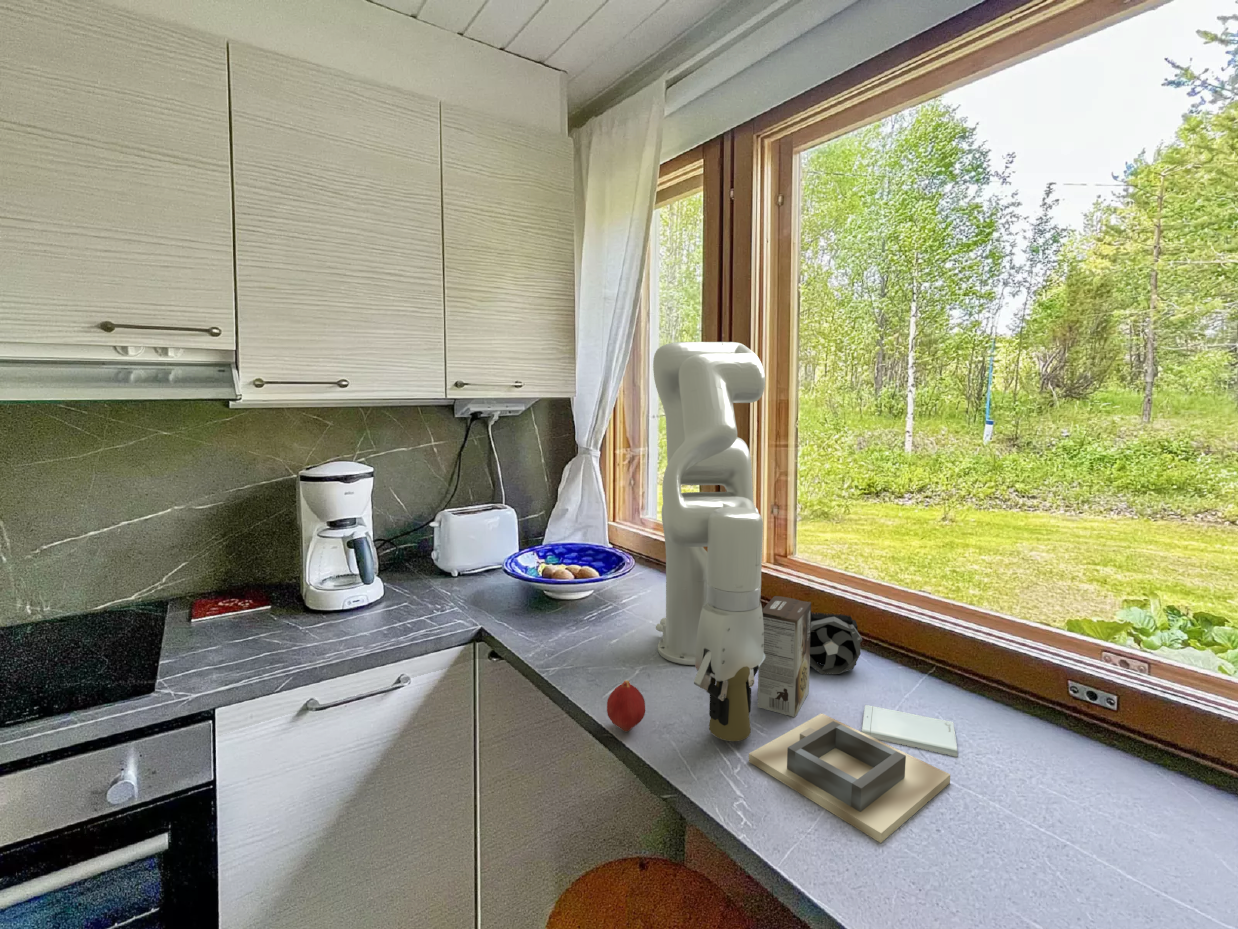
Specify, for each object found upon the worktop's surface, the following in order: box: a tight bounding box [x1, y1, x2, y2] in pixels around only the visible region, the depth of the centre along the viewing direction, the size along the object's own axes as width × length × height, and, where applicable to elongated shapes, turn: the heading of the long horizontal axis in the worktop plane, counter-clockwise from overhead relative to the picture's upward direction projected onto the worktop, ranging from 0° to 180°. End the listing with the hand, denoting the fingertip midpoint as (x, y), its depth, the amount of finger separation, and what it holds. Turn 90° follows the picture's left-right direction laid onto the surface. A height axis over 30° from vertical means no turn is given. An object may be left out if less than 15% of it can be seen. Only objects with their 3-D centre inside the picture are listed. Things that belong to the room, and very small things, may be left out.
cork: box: [708, 666, 752, 742], centre depth 87 cm, size 6×6×11 cm
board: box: [748, 713, 951, 844], centre depth 79 cm, size 19×17×4 cm
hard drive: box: [861, 704, 959, 757], centre depth 89 cm, size 2×8×12 cm
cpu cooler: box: [809, 611, 863, 675], centre depth 109 cm, size 10×6×10 cm, turn 76°
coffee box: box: [757, 595, 812, 718], centre depth 98 cm, size 9×6×16 cm
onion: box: [606, 679, 646, 733], centre depth 89 cm, size 6×6×8 cm
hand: (729, 713), depth 87 cm, fingers closed on cork, 4 cm apart
